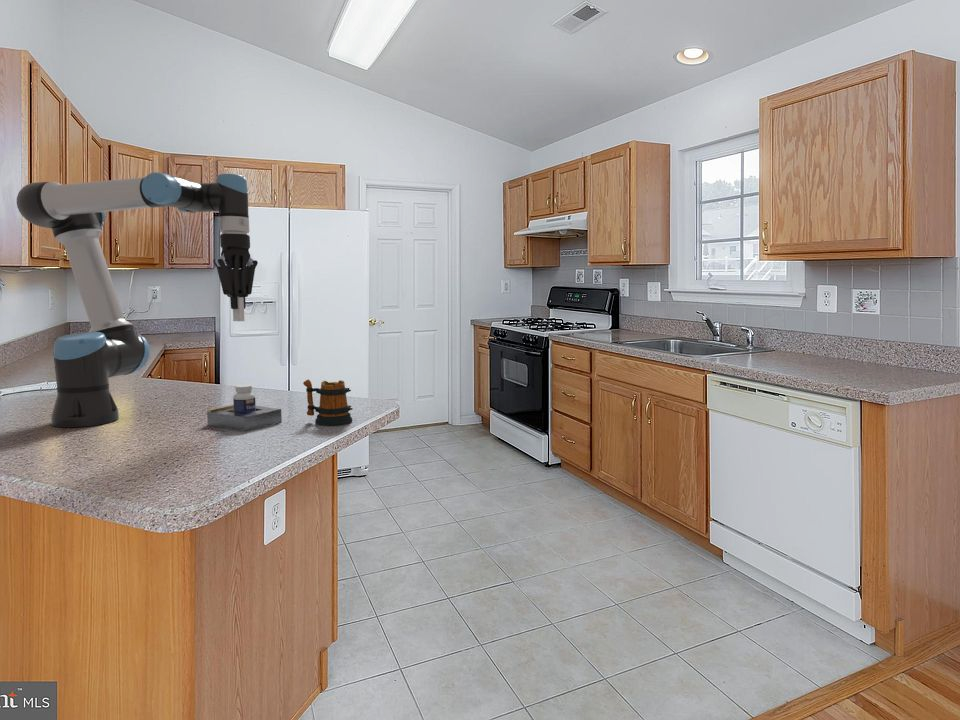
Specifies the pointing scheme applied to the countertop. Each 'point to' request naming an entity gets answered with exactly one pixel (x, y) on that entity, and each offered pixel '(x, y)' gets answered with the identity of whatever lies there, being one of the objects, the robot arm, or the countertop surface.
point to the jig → (243, 418)
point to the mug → (329, 403)
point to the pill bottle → (244, 399)
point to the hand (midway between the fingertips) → (238, 320)
